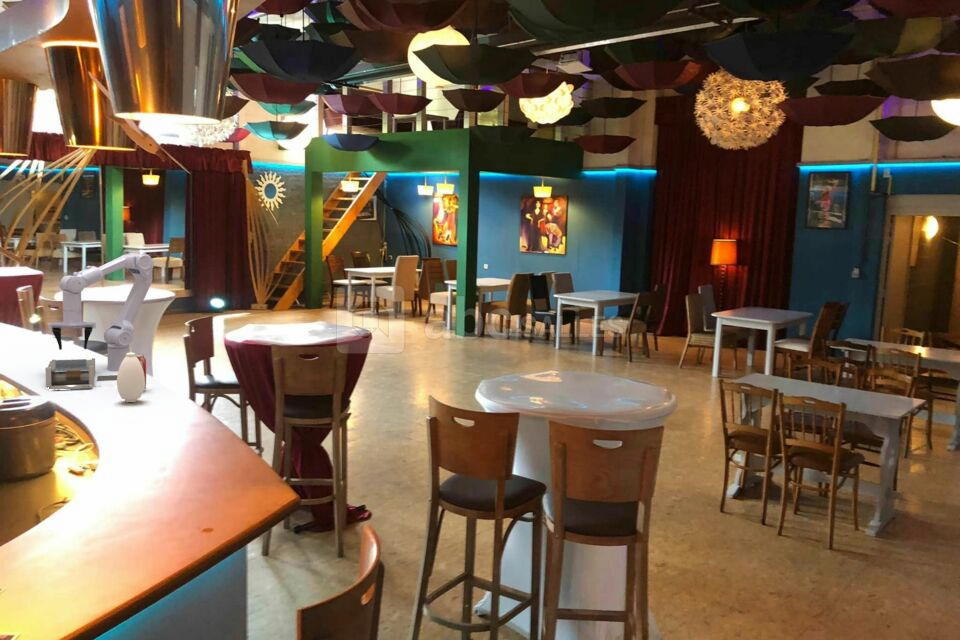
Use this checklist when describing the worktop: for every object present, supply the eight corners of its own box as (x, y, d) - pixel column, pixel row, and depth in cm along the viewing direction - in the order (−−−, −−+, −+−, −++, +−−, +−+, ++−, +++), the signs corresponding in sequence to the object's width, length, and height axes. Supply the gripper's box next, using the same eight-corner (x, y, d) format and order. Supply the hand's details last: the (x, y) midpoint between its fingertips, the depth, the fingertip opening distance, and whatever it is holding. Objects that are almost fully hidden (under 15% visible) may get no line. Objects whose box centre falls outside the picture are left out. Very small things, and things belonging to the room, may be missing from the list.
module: (66, 373, 274) (66, 360, 273) (80, 373, 276) (80, 359, 275) (66, 376, 270) (65, 362, 269) (80, 375, 272) (80, 362, 271)
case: (51, 375, 273) (51, 355, 272) (96, 373, 279) (95, 354, 278) (46, 389, 252) (45, 367, 251) (94, 387, 258) (94, 366, 257)
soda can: (150, 389, 258) (150, 353, 256) (139, 393, 251) (138, 357, 249) (130, 388, 259) (129, 352, 257) (118, 392, 252) (117, 356, 250)
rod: (48, 391, 249) (48, 386, 249) (49, 390, 250) (48, 385, 250) (93, 389, 254) (93, 384, 254) (93, 388, 256) (93, 383, 256)
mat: (97, 377, 272) (97, 375, 272) (125, 376, 276) (125, 374, 276) (96, 382, 264) (96, 381, 264) (125, 381, 268) (125, 379, 268)
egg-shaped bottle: (142, 405, 237) (141, 346, 234) (114, 405, 235) (113, 346, 233) (147, 399, 244) (146, 342, 242) (120, 399, 243) (119, 342, 240)
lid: (50, 363, 265) (50, 355, 265) (94, 361, 271) (94, 354, 271) (46, 371, 252) (46, 363, 252) (93, 369, 258) (93, 361, 257)
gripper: (47, 311, 263) (48, 351, 265) (95, 311, 269) (95, 350, 271) (49, 309, 270) (50, 348, 271) (95, 309, 276) (96, 347, 277)
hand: (73, 349), depth 272 cm, fingers open, 7 cm apart
